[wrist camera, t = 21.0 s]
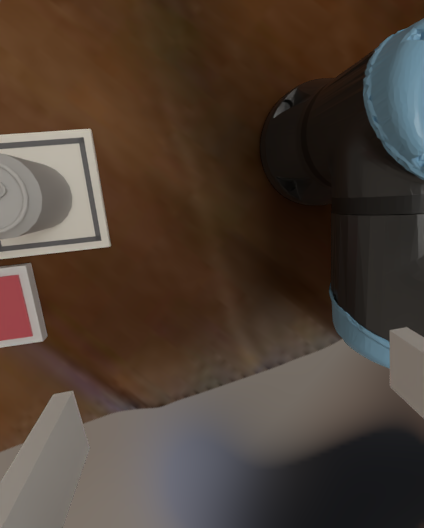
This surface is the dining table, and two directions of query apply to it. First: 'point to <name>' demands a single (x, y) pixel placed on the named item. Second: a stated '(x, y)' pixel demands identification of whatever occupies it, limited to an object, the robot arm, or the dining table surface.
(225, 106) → the dining table surface
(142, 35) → the dining table surface
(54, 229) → the marked board
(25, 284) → the ink pad
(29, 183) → the can
